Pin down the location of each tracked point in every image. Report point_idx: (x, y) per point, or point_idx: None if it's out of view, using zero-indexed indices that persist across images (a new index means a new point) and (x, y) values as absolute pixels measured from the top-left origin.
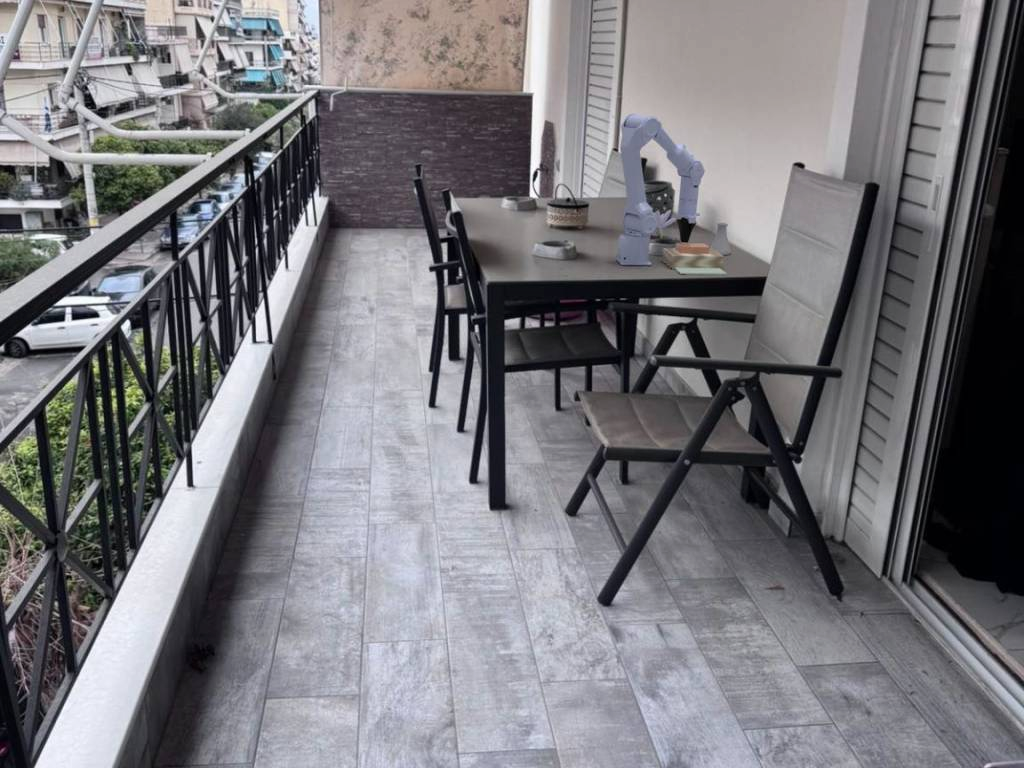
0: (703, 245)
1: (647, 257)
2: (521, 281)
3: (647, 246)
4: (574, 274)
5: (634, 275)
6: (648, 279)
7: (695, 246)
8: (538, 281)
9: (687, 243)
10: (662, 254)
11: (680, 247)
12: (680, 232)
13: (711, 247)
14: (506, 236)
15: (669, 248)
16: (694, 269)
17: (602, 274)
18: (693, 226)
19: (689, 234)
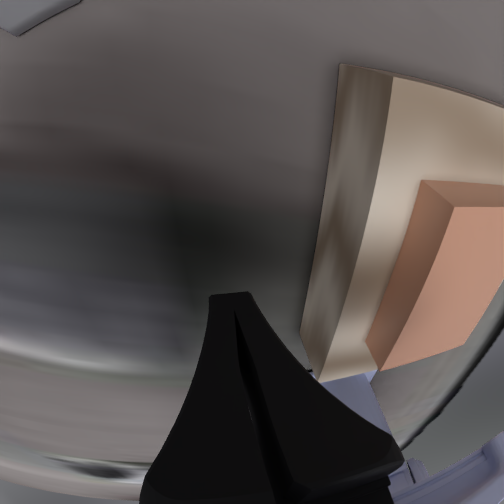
0: (496, 233)
1: (366, 387)
2: (402, 445)
3: (385, 423)
4: (394, 429)
5: (447, 368)
6: (484, 343)
7: (491, 284)
8: (410, 437)
9: (413, 322)
10: (309, 356)
11: (456, 342)
12: (250, 412)
13: (15, 7)
14: (72, 487)
15: (334, 363)
16: None
17: (413, 407)
18: (355, 418)
19: (280, 351)
